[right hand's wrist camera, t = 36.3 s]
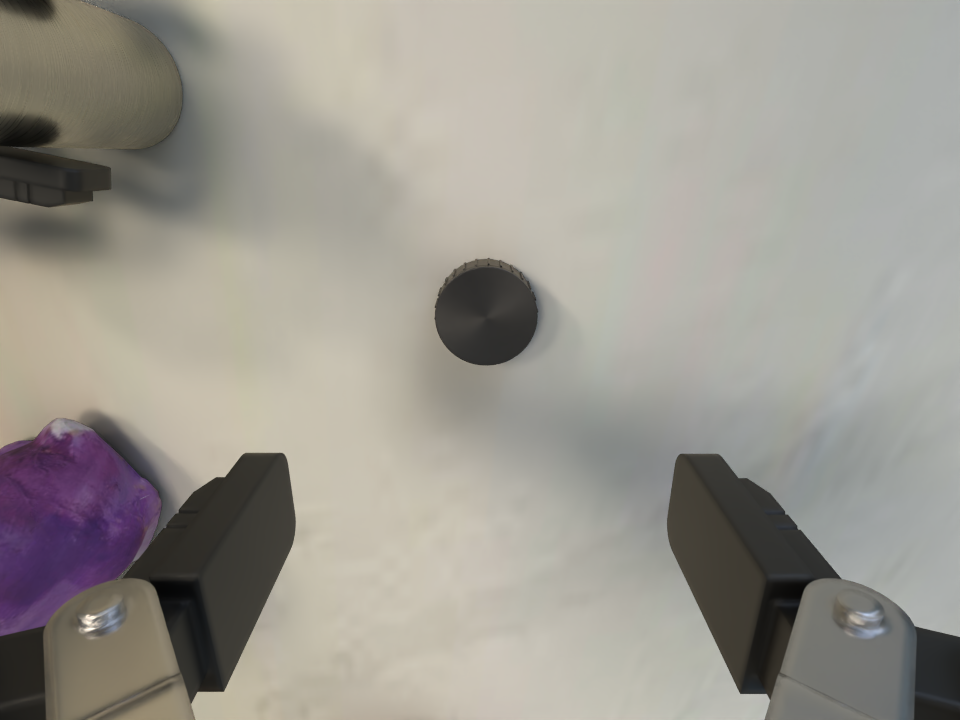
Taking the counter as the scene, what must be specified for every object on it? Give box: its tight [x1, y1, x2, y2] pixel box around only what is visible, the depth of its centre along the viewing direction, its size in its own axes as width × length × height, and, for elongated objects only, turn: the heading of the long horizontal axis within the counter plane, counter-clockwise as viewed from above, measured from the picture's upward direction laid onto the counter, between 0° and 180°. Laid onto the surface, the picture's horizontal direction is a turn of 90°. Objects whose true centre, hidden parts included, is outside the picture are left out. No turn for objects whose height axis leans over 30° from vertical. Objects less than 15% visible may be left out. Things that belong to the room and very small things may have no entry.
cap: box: [435, 258, 538, 365], centre depth 25 cm, size 4×4×2 cm
